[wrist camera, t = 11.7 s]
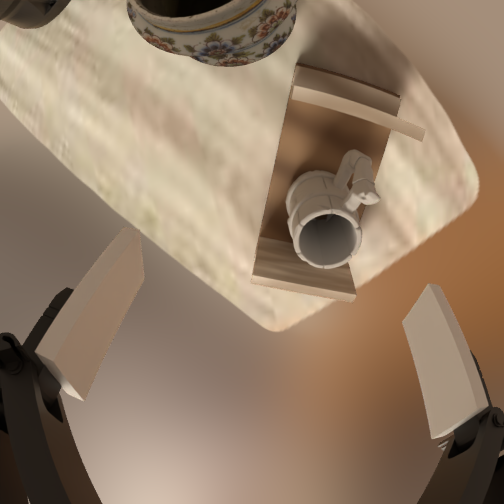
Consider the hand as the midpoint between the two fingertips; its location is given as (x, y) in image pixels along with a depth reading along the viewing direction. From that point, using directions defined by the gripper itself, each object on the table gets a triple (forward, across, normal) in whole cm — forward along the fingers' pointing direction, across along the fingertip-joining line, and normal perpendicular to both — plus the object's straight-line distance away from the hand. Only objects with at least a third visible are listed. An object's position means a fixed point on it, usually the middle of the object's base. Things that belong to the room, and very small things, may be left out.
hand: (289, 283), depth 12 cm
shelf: (+23, +5, -3) cm, 24 cm away
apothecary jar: (+24, -8, +14) cm, 29 cm away
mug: (+22, +6, -3) cm, 23 cm away
